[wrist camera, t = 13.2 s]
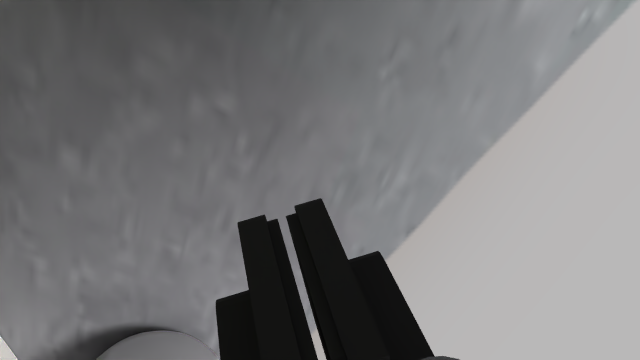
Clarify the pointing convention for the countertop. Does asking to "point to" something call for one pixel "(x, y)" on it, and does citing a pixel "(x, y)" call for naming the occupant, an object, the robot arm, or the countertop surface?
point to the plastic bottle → (159, 347)
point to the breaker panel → (6, 351)
